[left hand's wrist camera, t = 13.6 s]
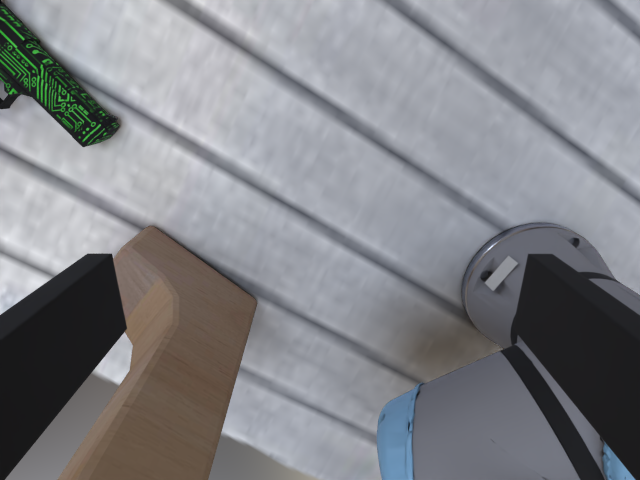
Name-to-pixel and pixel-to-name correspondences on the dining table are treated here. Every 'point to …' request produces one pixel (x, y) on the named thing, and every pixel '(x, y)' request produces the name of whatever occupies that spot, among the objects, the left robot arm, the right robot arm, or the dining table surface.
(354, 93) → the dining table surface
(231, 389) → the decorative block
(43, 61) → the handgun
